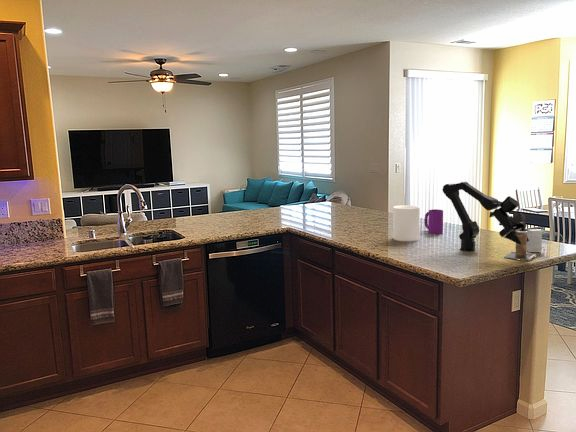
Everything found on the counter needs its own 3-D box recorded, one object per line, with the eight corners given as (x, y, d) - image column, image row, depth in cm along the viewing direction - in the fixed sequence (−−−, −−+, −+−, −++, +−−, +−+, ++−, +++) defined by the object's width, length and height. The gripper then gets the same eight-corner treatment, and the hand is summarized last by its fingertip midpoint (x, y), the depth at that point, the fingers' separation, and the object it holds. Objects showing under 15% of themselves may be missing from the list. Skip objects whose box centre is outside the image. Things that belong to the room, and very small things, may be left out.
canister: (420, 241, 287) (420, 208, 284) (393, 241, 291) (393, 208, 287) (418, 236, 303) (418, 205, 300) (392, 236, 306) (393, 205, 303)
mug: (434, 234, 306) (434, 211, 303) (419, 230, 320) (419, 208, 317) (445, 233, 309) (446, 210, 307) (430, 229, 323) (430, 207, 321)
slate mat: (503, 258, 242) (503, 255, 242) (511, 253, 251) (511, 251, 251) (529, 261, 234) (529, 258, 234) (536, 256, 243) (536, 254, 243)
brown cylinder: (516, 258, 238) (517, 232, 237) (514, 256, 243) (514, 231, 241) (527, 258, 237) (528, 232, 236) (524, 256, 242) (525, 231, 240)
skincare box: (537, 250, 255) (538, 228, 253) (541, 252, 251) (542, 230, 249) (525, 251, 255) (526, 229, 253) (530, 253, 251) (531, 230, 249)
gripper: (506, 210, 234) (528, 235, 227) (523, 206, 245) (545, 230, 239) (490, 224, 241) (511, 249, 234) (508, 219, 253) (528, 243, 246)
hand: (524, 242), depth 238 cm, fingers open, 8 cm apart
